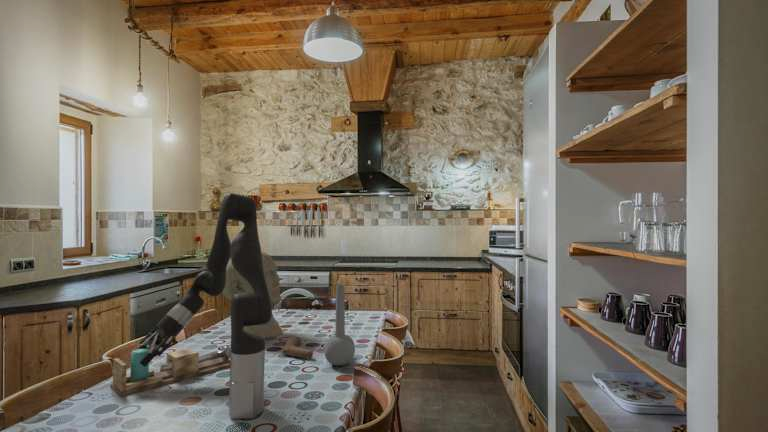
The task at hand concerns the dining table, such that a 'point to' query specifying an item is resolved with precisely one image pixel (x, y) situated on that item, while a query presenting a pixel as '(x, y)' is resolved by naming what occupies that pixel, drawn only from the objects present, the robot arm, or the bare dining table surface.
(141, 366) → the cylinder
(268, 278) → the bust
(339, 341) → the grey ball with stem
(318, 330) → the dining table surface
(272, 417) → the dining table surface
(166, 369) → the shaft
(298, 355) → the pipe
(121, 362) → the rig
